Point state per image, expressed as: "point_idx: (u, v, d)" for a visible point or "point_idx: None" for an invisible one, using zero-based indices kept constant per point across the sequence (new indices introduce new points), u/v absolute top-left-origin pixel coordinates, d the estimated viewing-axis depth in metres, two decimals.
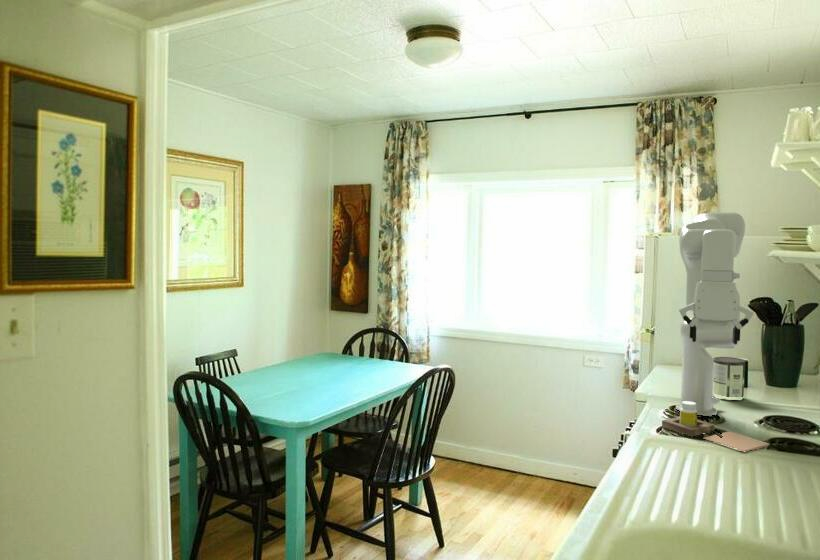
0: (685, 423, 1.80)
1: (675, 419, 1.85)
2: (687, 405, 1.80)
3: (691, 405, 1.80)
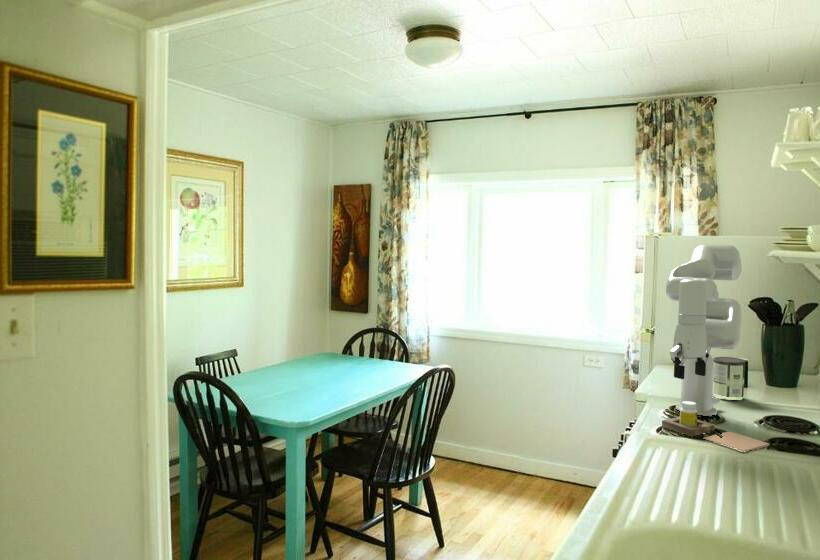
0: (685, 423, 1.80)
1: (675, 419, 1.85)
2: (687, 405, 1.80)
3: (691, 405, 1.80)
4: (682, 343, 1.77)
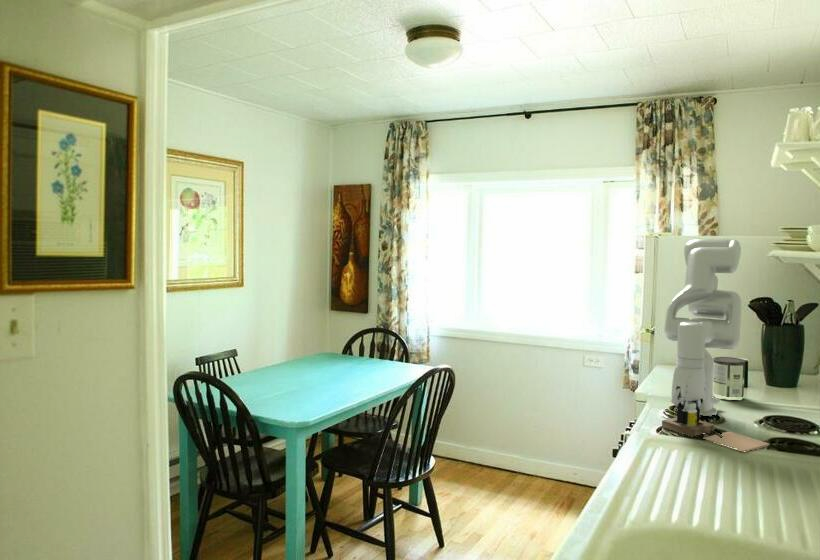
0: None
1: (675, 419, 1.85)
2: (687, 405, 1.80)
3: (691, 405, 1.80)
4: (680, 388, 1.78)
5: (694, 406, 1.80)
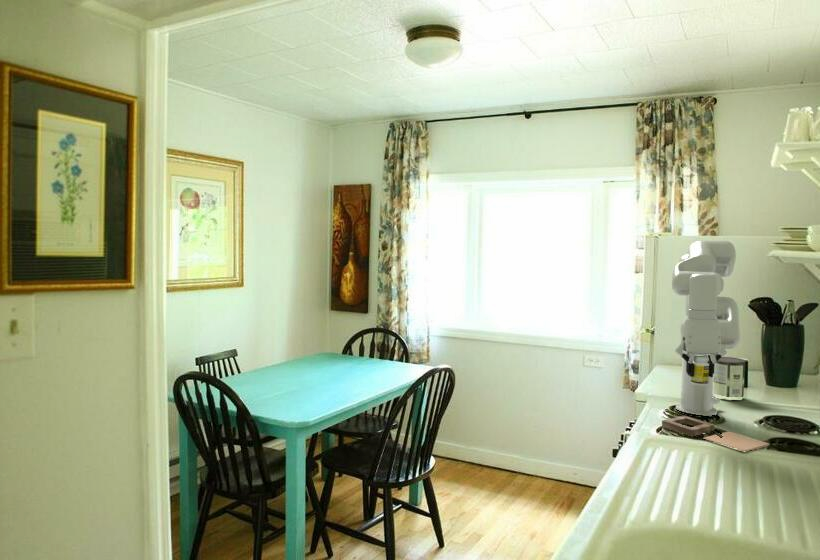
0: (693, 376, 1.78)
1: (675, 419, 1.85)
2: (695, 358, 1.77)
3: (699, 358, 1.76)
4: (685, 339, 1.77)
5: (703, 359, 1.76)
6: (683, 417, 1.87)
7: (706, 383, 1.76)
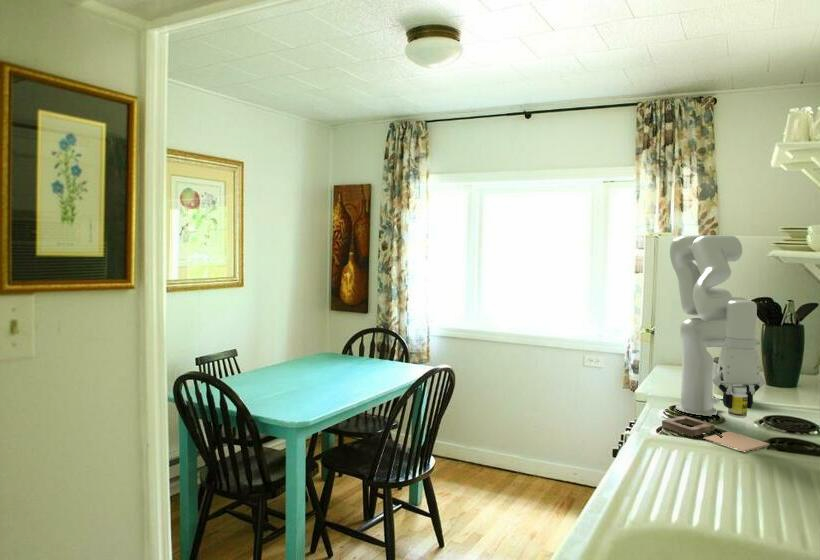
0: None
1: (675, 419, 1.85)
2: (733, 388, 1.69)
3: (737, 389, 1.68)
4: (722, 369, 1.68)
5: (742, 390, 1.68)
6: (683, 417, 1.87)
7: (745, 415, 1.68)
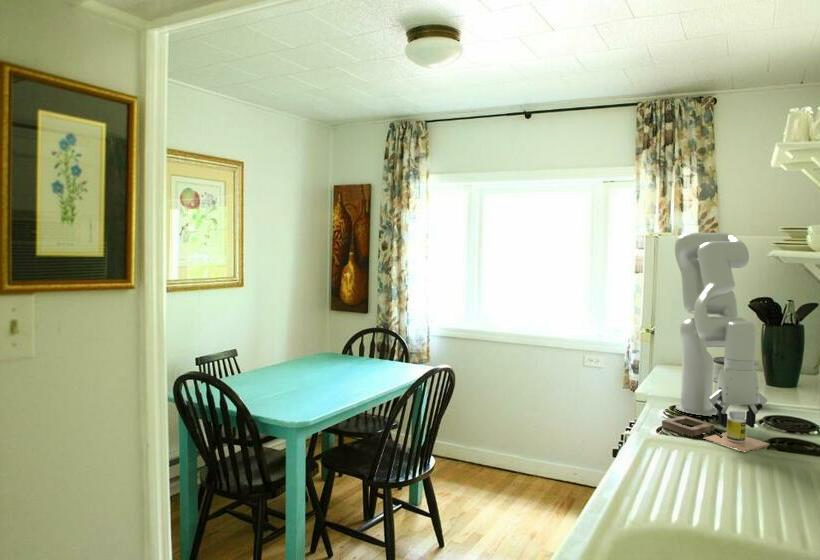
0: (729, 432, 1.70)
1: (675, 419, 1.85)
2: (732, 413, 1.70)
3: (736, 414, 1.69)
4: (721, 389, 1.69)
5: (740, 415, 1.68)
6: (683, 417, 1.87)
7: (743, 440, 1.69)
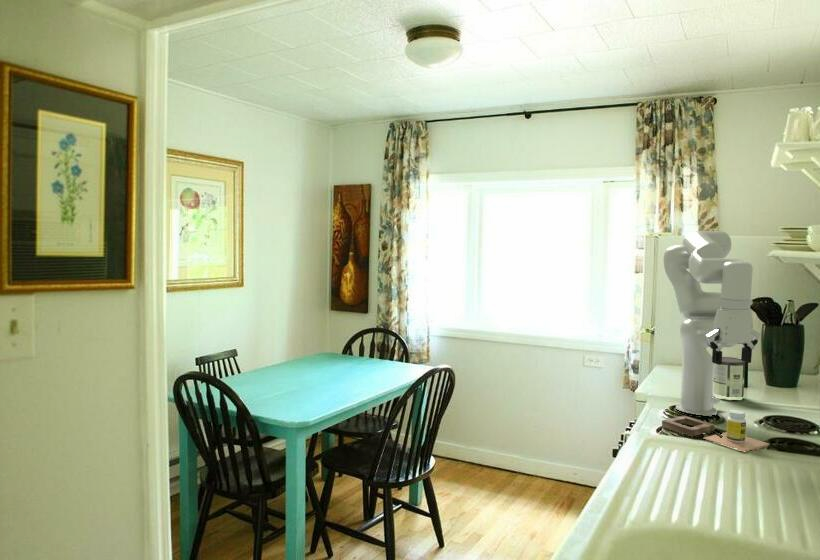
0: (729, 432, 1.70)
1: (675, 419, 1.85)
2: (732, 413, 1.70)
3: (736, 414, 1.69)
4: (720, 328, 1.70)
5: (740, 415, 1.68)
6: (683, 417, 1.87)
7: (743, 440, 1.69)
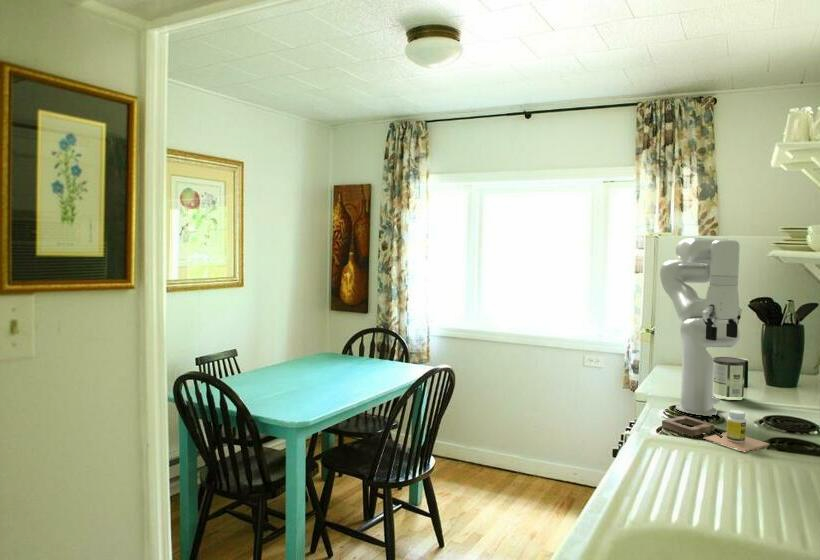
0: (729, 432, 1.70)
1: (675, 419, 1.85)
2: (732, 413, 1.70)
3: (736, 414, 1.69)
4: (714, 304, 1.75)
5: (740, 416, 1.68)
6: (683, 417, 1.87)
7: (743, 440, 1.69)
